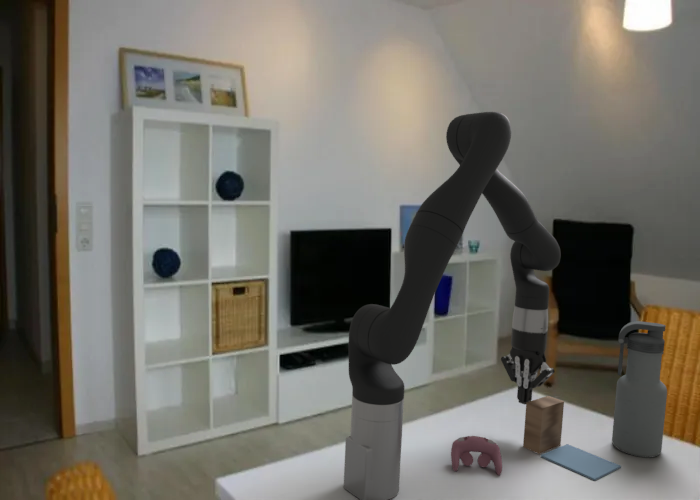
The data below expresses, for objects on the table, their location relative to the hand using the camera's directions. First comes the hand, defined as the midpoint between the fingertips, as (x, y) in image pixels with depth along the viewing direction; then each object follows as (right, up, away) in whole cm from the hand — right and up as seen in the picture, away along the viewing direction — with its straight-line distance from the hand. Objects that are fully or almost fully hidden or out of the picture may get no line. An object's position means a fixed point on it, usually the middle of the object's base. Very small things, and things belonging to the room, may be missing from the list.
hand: (524, 402), depth 128 cm
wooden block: (+3, -9, -3) cm, 10 cm away
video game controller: (-14, -9, -15) cm, 23 cm away
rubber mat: (+8, -9, -10) cm, 16 cm away
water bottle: (+24, -10, -2) cm, 26 cm away
